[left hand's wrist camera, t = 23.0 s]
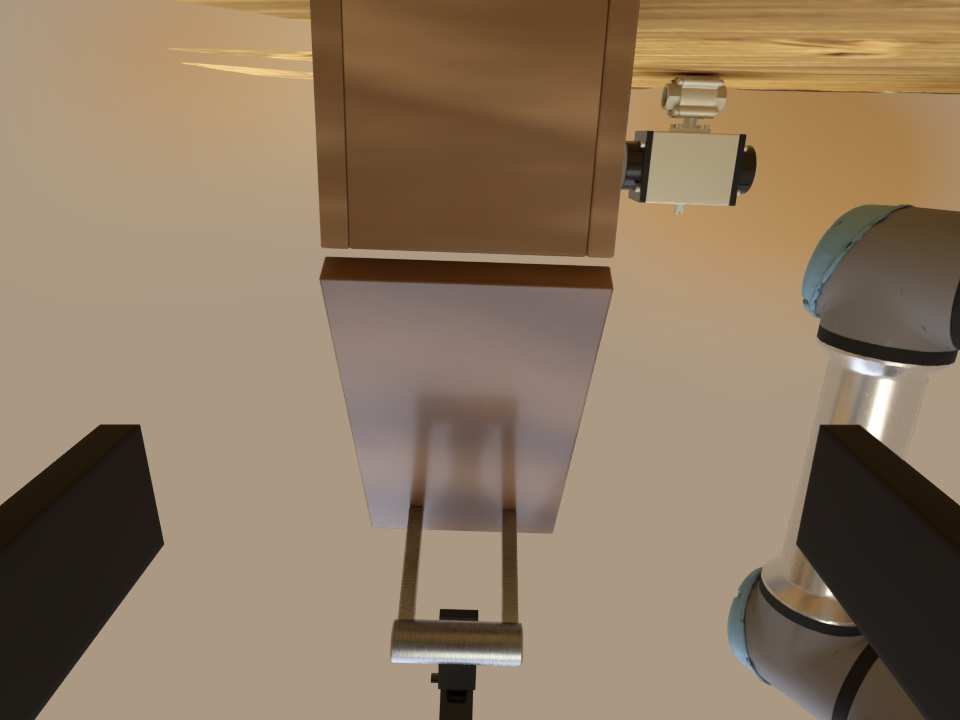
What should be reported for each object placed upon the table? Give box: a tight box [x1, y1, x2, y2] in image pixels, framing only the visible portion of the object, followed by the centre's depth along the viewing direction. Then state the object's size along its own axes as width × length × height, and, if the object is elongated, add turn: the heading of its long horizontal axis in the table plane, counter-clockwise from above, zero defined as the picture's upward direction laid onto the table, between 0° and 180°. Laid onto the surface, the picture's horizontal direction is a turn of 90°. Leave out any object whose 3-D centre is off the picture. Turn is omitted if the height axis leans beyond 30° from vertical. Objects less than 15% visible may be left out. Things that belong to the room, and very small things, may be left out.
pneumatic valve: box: [621, 75, 756, 214], centre depth 61 cm, size 6×12×12 cm, turn 90°
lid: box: [319, 257, 613, 666], centre depth 26 cm, size 18×10×8 cm
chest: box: [310, 0, 640, 258], centre depth 28 cm, size 17×10×9 cm, turn 0°
